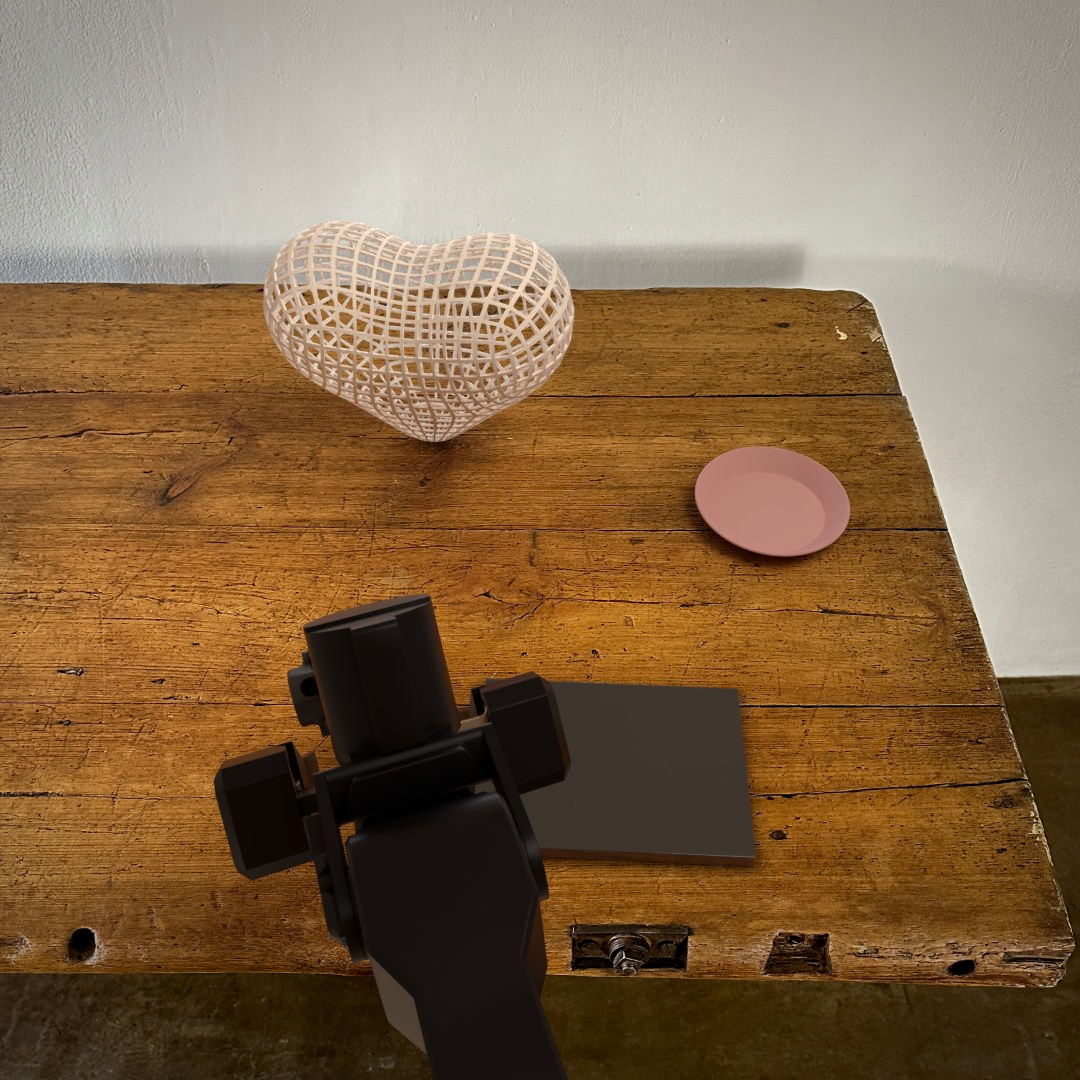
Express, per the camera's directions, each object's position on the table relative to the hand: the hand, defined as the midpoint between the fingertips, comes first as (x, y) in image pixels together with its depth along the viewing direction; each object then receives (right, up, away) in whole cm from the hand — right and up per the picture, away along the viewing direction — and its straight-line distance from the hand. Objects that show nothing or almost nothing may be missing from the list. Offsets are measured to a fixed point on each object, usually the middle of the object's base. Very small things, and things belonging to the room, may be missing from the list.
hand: (385, 737), depth 62 cm
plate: (+31, +15, +30) cm, 46 cm away
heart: (-1, +23, +37) cm, 44 cm away
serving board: (+15, -5, +12) cm, 20 cm away
